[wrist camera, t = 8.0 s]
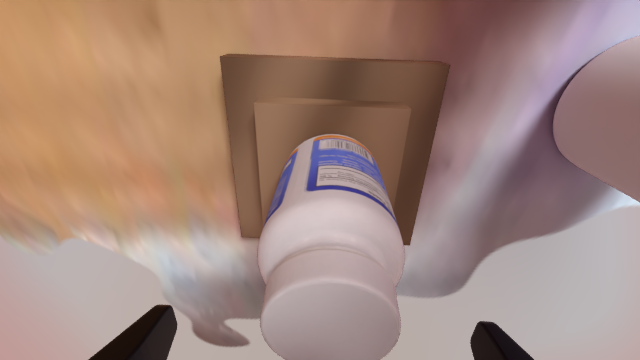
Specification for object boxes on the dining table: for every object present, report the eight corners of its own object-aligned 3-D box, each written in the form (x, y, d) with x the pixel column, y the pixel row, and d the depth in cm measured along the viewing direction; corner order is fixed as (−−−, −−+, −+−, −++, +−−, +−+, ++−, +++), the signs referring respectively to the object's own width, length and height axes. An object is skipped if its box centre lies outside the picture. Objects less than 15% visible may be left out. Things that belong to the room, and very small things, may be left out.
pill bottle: (316, 228, 19) (302, 403, 10) (264, 161, 17) (191, 310, 8) (395, 189, 17) (458, 358, 8) (349, 111, 15) (371, 228, 6)
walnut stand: (440, 61, 17) (461, 68, 14) (405, 232, 22) (414, 260, 20) (228, 53, 17) (209, 59, 14) (247, 224, 22) (235, 251, 20)
